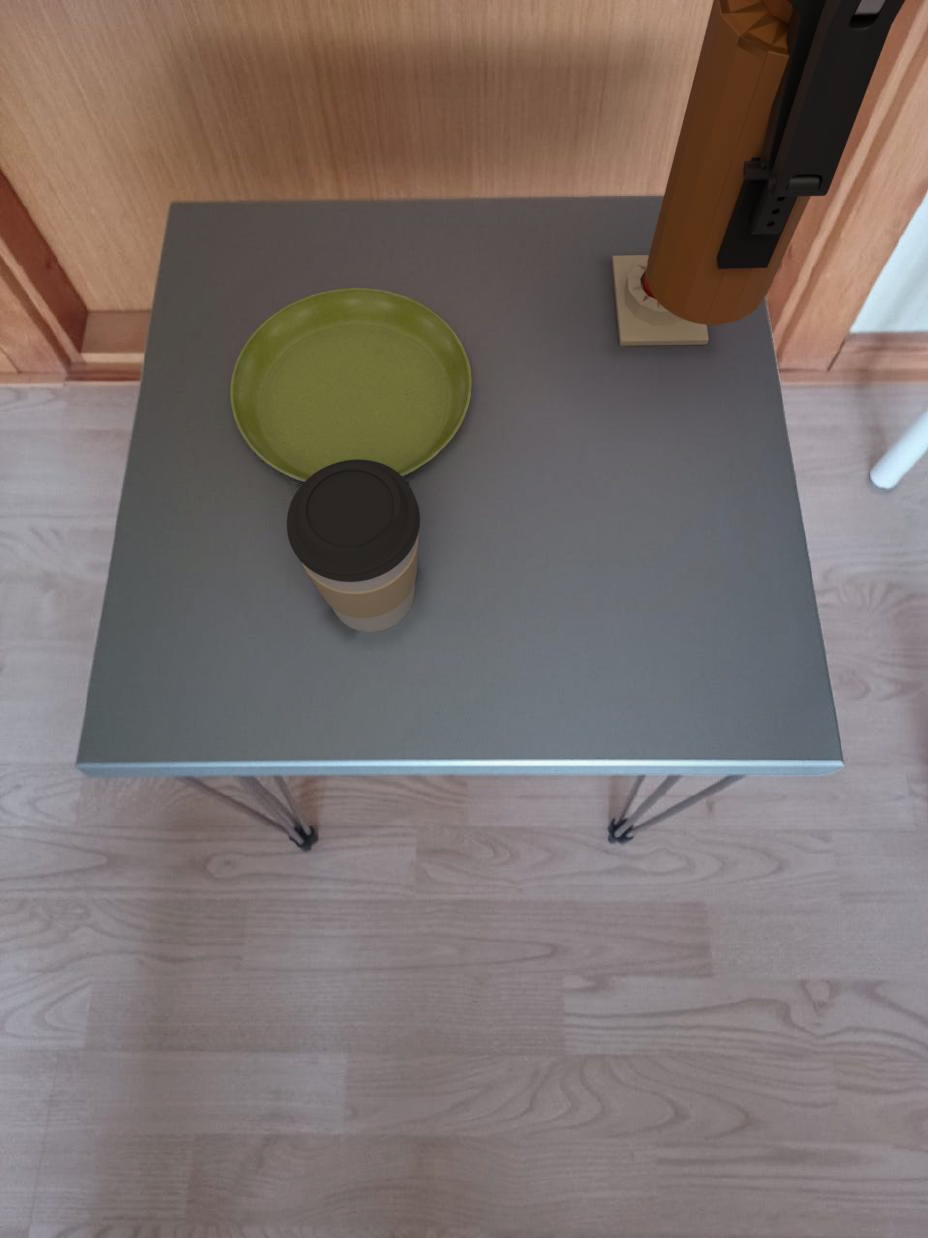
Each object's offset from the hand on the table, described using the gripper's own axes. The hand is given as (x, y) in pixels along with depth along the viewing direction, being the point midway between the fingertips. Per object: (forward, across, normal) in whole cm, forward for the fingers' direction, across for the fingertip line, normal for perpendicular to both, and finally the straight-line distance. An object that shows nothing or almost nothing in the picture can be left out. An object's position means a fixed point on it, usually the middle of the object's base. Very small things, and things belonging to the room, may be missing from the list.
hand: (732, 204), depth 49 cm
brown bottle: (+6, 0, 0) cm, 6 cm away
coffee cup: (+27, +12, -23) cm, 38 cm away
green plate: (+27, -6, -25) cm, 38 cm away
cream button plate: (+27, -17, +3) cm, 32 cm away
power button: (+25, -17, +3) cm, 31 cm away
